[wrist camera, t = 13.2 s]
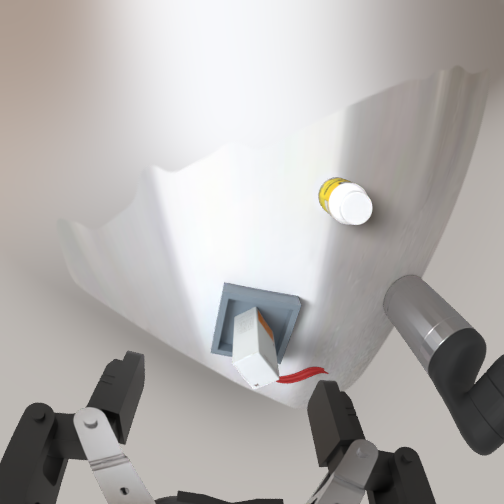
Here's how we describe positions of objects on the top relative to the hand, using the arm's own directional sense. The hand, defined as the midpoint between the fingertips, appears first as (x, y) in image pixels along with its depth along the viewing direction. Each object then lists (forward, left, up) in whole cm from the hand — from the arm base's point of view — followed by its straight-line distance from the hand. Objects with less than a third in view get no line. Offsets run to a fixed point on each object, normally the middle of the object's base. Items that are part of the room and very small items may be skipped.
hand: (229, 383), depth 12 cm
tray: (-6, +17, -33) cm, 37 cm away
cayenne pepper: (-17, +28, -33) cm, 47 cm away
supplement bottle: (-13, -6, -33) cm, 36 cm away
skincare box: (-6, +17, -32) cm, 37 cm away
